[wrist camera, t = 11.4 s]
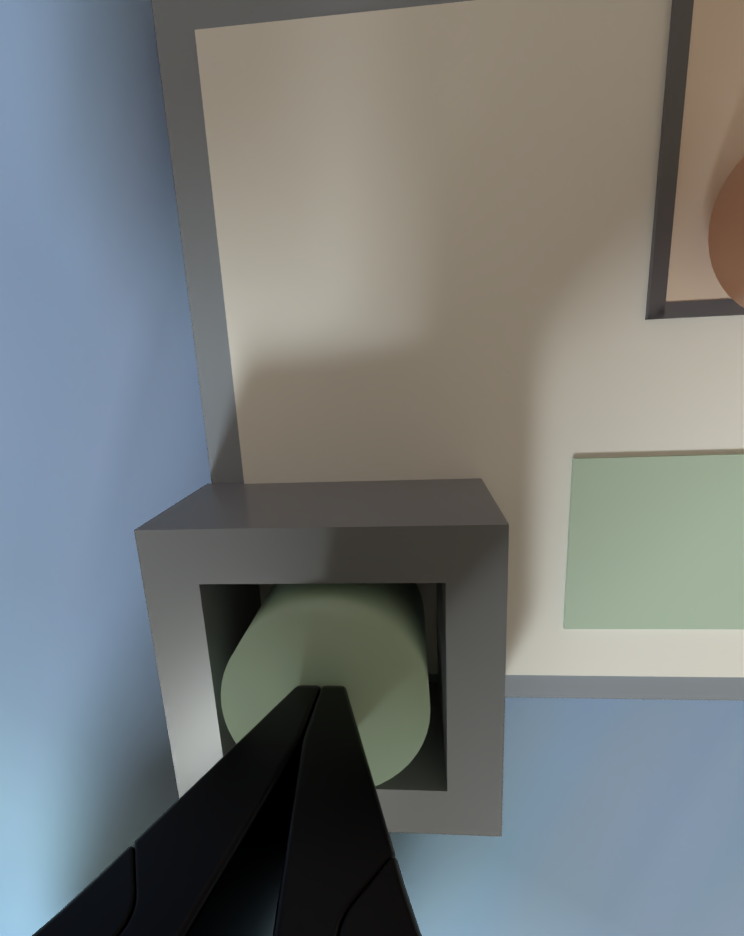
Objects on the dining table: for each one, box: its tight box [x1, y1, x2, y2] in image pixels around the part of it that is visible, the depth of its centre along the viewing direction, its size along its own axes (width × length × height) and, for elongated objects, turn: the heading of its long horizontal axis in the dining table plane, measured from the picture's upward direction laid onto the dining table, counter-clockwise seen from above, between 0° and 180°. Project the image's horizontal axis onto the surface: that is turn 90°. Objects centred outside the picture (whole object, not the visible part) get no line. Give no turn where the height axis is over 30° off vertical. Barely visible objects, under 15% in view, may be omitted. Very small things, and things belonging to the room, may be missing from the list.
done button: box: [221, 583, 430, 786], centre depth 9 cm, size 4×4×3 cm
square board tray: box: [134, 0, 744, 836], centre depth 9 cm, size 16×16×4 cm
